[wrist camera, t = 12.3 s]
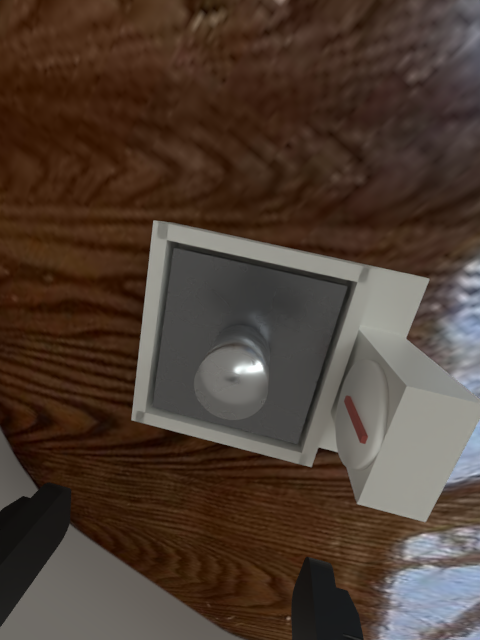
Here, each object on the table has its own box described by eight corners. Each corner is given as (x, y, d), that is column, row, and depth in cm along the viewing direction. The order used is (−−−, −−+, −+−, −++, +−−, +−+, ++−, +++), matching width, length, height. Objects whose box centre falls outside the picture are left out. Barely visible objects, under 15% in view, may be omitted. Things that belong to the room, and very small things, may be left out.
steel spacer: (276, 332, 24) (276, 362, 18) (262, 384, 25) (258, 427, 20) (218, 318, 24) (200, 344, 19) (208, 370, 26) (188, 409, 20)
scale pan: (344, 283, 23) (347, 286, 22) (296, 435, 28) (297, 444, 27) (178, 247, 24) (173, 247, 23) (157, 400, 29) (152, 406, 27)
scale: (423, 277, 25) (547, 313, 13) (355, 450, 30) (403, 582, 19) (171, 222, 26) (88, 213, 15) (149, 397, 32) (75, 490, 20)
